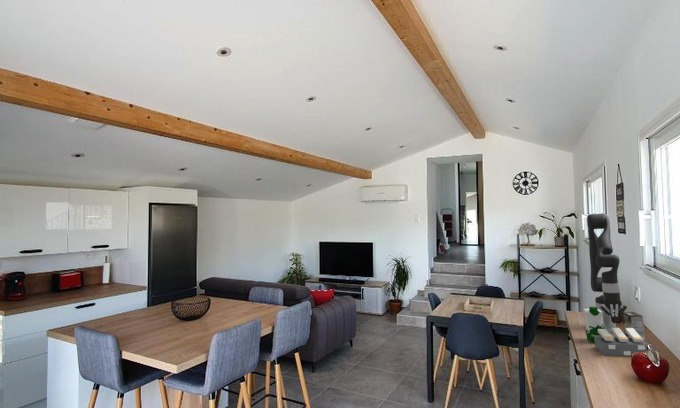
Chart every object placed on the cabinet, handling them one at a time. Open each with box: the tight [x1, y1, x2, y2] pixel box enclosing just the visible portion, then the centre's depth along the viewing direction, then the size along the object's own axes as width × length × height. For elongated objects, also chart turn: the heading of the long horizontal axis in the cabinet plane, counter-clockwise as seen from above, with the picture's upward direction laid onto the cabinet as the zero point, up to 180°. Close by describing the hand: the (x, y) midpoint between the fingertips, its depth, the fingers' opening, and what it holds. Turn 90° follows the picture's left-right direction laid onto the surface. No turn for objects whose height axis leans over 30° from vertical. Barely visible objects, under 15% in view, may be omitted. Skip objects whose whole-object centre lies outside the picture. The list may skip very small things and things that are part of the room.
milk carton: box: [582, 306, 604, 344], centre depth 215 cm, size 9×9×20 cm
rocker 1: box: [598, 329, 615, 341], centre depth 199 cm, size 10×4×2 cm, turn 165°
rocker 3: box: [625, 328, 643, 342], centre depth 195 cm, size 10×4×2 cm, turn 166°
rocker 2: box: [611, 327, 628, 342], centre depth 197 cm, size 10×4×2 cm, turn 166°
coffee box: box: [621, 311, 646, 342], centre depth 209 cm, size 9×6×16 cm
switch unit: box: [594, 336, 650, 357], centre depth 197 cm, size 13×20×7 cm, turn 74°
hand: (614, 323), depth 202 cm, fingers closed
